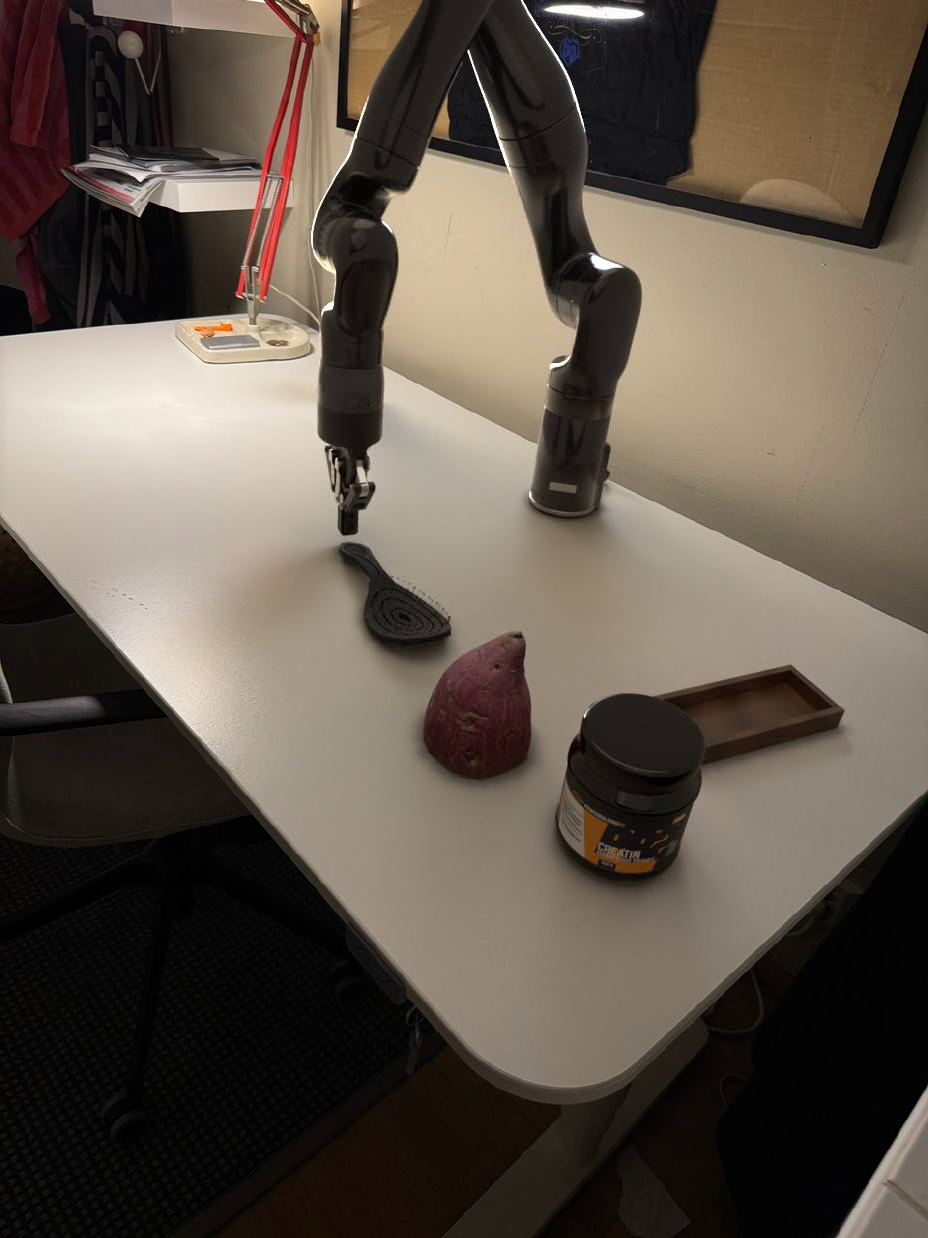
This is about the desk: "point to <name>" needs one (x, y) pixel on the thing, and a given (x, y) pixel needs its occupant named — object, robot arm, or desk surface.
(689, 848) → the desk surface
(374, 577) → the hairbrush
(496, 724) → the vegetable
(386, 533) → the desk surface
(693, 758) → the supplement container
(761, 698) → the pen tray
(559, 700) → the desk surface
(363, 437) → the robot arm
